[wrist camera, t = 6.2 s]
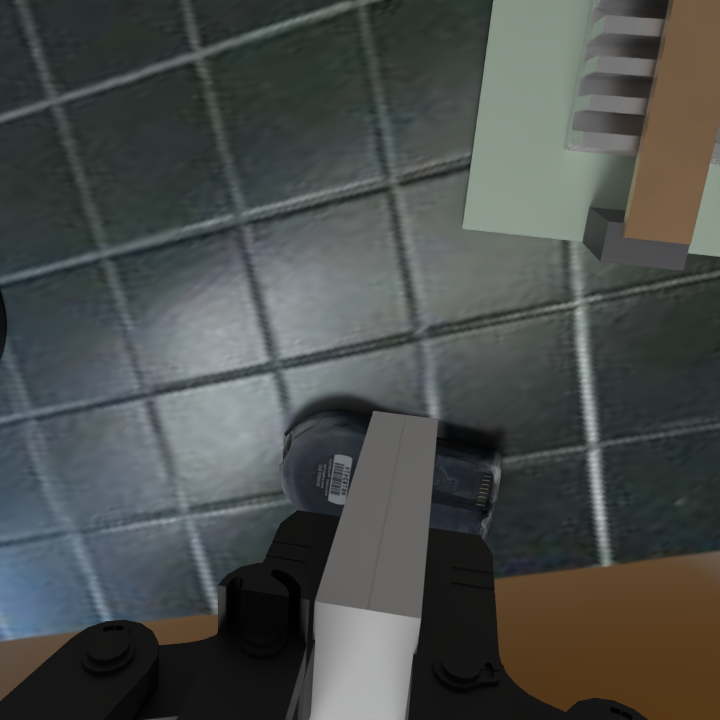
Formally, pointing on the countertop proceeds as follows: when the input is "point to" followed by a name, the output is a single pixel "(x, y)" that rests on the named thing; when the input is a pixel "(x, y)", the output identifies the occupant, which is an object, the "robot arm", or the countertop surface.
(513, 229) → the board
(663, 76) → the strap
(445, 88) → the countertop surface
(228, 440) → the countertop surface
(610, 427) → the countertop surface
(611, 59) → the heatsink
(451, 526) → the electronic device
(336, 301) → the countertop surface
